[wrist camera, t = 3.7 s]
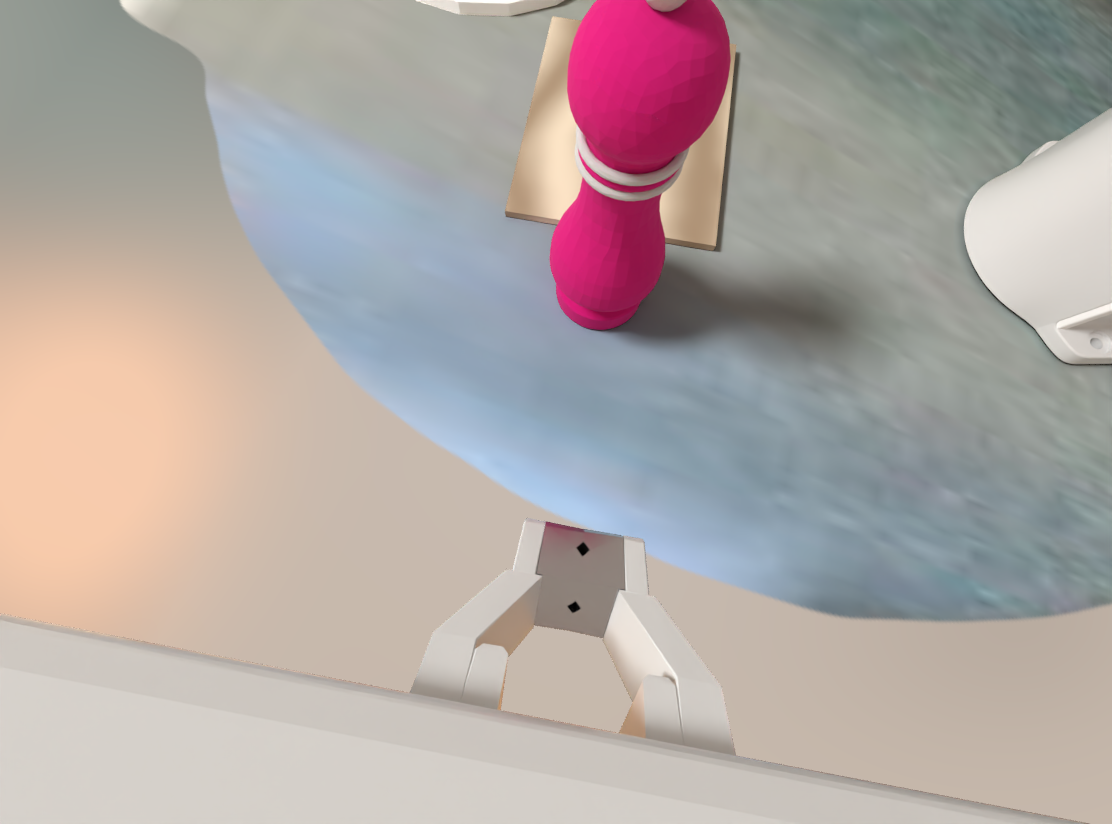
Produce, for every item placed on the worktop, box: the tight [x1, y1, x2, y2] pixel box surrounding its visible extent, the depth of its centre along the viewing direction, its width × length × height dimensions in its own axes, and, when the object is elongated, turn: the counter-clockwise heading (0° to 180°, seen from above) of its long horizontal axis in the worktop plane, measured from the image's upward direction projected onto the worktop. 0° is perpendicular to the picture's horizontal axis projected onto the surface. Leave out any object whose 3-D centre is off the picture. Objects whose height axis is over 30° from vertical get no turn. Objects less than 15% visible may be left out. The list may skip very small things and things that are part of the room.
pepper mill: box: [550, 0, 731, 330], centre depth 22 cm, size 7×7×20 cm
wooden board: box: [505, 16, 736, 251], centre depth 35 cm, size 16×20×1 cm
